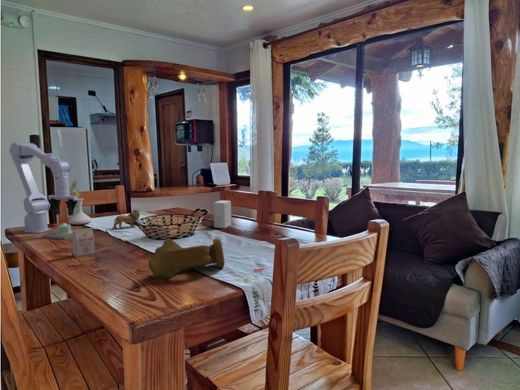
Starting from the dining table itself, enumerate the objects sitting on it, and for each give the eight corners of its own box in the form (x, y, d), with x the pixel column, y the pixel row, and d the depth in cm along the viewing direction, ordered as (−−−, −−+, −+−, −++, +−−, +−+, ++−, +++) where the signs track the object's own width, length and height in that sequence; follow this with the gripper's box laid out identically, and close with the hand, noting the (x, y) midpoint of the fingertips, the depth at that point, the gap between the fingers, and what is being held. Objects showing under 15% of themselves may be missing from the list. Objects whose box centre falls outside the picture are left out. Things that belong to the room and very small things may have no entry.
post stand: (42, 238, 165) (41, 226, 164) (64, 231, 178) (63, 220, 177) (65, 239, 162) (64, 227, 162) (85, 232, 175) (84, 221, 174)
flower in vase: (71, 222, 200) (67, 177, 197) (93, 221, 204) (90, 177, 200) (66, 227, 188) (62, 179, 185) (90, 225, 191) (86, 178, 188)
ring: (54, 233, 168) (54, 226, 167) (63, 230, 173) (63, 224, 173) (65, 233, 167) (64, 227, 166) (73, 231, 172) (73, 224, 172)
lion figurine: (138, 225, 192) (137, 208, 191) (142, 226, 188) (141, 209, 187) (110, 229, 183) (109, 211, 182) (113, 230, 179) (112, 213, 178)
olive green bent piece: (158, 242, 128) (219, 230, 130) (163, 279, 125) (225, 266, 127) (144, 239, 109) (216, 225, 111) (150, 282, 107) (223, 267, 109)
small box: (220, 224, 193) (220, 200, 191) (231, 225, 191) (231, 200, 189) (213, 227, 185) (213, 202, 184) (224, 228, 183) (224, 202, 181)
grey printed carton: (73, 255, 138) (71, 229, 137) (92, 251, 142) (90, 227, 141) (76, 257, 135) (74, 231, 134) (95, 253, 140) (93, 228, 138)
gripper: (81, 186, 172) (83, 214, 174) (55, 185, 175) (57, 212, 177) (70, 187, 165) (72, 216, 167) (44, 186, 169) (46, 215, 170)
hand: (64, 214), depth 172 cm, fingers open, 7 cm apart
